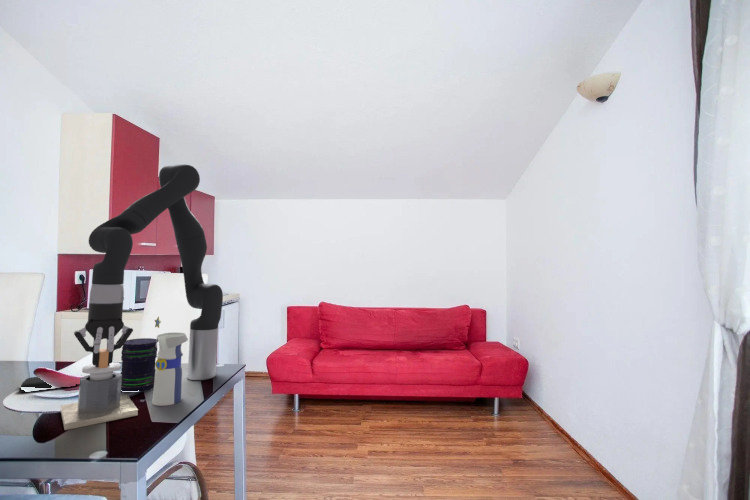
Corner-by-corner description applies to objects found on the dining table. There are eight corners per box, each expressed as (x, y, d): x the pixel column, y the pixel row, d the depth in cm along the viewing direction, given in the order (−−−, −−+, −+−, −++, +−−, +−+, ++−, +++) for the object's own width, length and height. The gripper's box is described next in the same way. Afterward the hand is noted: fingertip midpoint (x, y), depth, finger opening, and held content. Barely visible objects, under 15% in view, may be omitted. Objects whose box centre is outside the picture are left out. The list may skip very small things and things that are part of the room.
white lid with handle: (83, 387, 95) (85, 355, 95) (79, 379, 101) (81, 349, 102) (122, 381, 101) (124, 351, 101) (117, 374, 107) (119, 345, 107)
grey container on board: (60, 411, 101) (63, 375, 102) (126, 399, 111) (128, 366, 112) (64, 430, 90) (67, 389, 91) (137, 415, 100) (139, 379, 101)
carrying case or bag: (81, 379, 130) (23, 385, 121) (82, 370, 130) (24, 376, 121) (81, 387, 121) (18, 395, 112) (81, 377, 121) (19, 385, 112)
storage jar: (161, 384, 126) (164, 338, 127) (142, 394, 116) (145, 344, 117) (132, 382, 127) (135, 337, 127) (111, 392, 117) (114, 343, 117)
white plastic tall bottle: (169, 407, 106) (175, 318, 108) (143, 404, 108) (149, 316, 109) (189, 398, 114) (194, 314, 116) (165, 395, 116) (170, 313, 117)
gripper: (133, 299, 110) (129, 359, 109) (73, 300, 100) (68, 366, 100) (139, 301, 104) (134, 365, 103) (75, 303, 95) (70, 373, 94)
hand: (102, 365), depth 101 cm, fingers closed on white lid with handle
